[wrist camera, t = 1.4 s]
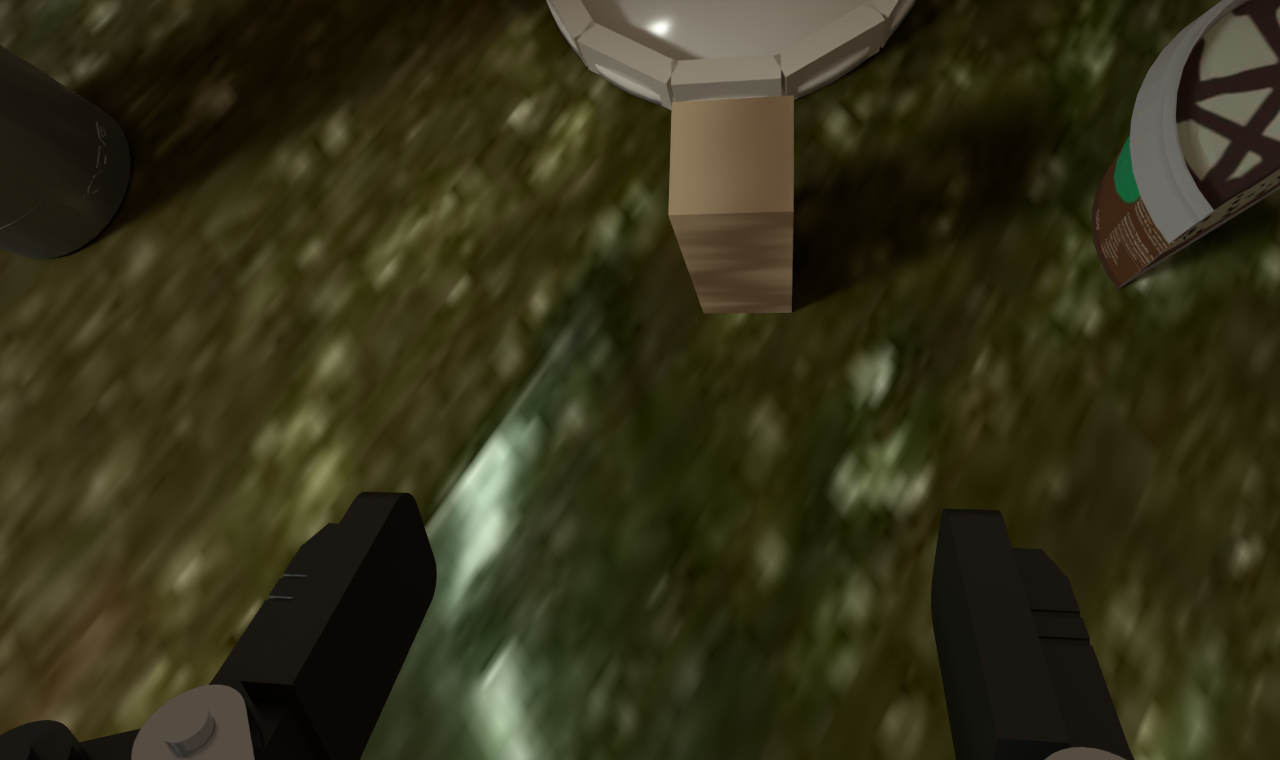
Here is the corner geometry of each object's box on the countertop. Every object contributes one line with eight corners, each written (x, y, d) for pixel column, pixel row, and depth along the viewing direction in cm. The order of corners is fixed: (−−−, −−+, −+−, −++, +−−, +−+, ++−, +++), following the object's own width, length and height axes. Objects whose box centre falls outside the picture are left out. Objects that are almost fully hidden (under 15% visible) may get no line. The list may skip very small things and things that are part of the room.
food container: (1240, 46, 37) (1400, -130, 27) (1339, 151, 36) (1546, 4, 26) (999, 197, 38) (1072, 77, 28) (1087, 308, 36) (1197, 221, 26)
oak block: (703, 313, 39) (668, 215, 27) (705, 231, 40) (672, 102, 28) (791, 312, 38) (793, 211, 27) (791, 229, 39) (793, 95, 27)
